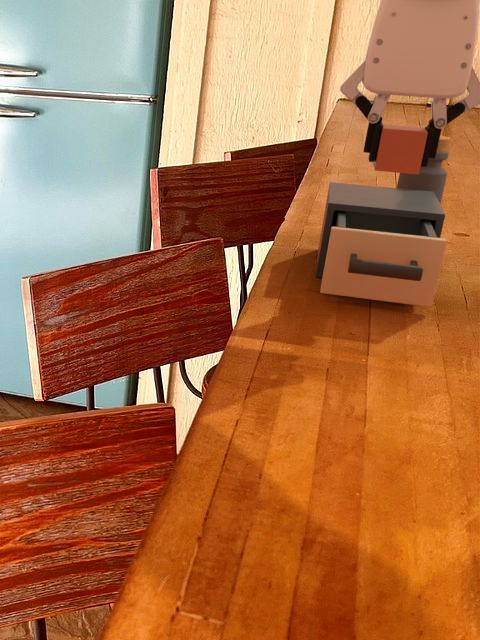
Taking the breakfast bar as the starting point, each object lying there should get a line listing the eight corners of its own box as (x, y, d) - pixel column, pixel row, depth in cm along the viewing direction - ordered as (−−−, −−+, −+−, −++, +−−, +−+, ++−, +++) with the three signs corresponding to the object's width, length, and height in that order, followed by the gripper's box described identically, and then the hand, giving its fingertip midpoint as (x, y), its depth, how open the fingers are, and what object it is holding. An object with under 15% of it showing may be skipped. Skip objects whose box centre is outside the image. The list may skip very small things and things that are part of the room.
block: (418, 174, 94) (428, 132, 92) (374, 170, 95) (382, 128, 93) (415, 168, 98) (424, 127, 96) (373, 164, 99) (381, 124, 97)
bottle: (434, 245, 124) (458, 136, 118) (426, 254, 120) (451, 140, 114) (390, 238, 127) (412, 131, 121) (381, 246, 123) (403, 136, 117)
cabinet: (428, 291, 103) (445, 214, 100) (315, 277, 107) (328, 202, 104) (418, 260, 116) (433, 191, 113) (318, 249, 120) (329, 182, 117)
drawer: (436, 321, 90) (452, 252, 88) (319, 306, 94) (331, 238, 91) (421, 274, 107) (435, 215, 104) (322, 263, 110) (332, 204, 107)
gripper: (521, -17, 90) (477, 165, 97) (346, -22, 95) (316, 150, 102) (535, -19, 83) (487, 175, 90) (346, -25, 88) (314, 160, 95)
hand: (397, 160), depth 96 cm, fingers closed on block, 4 cm apart
